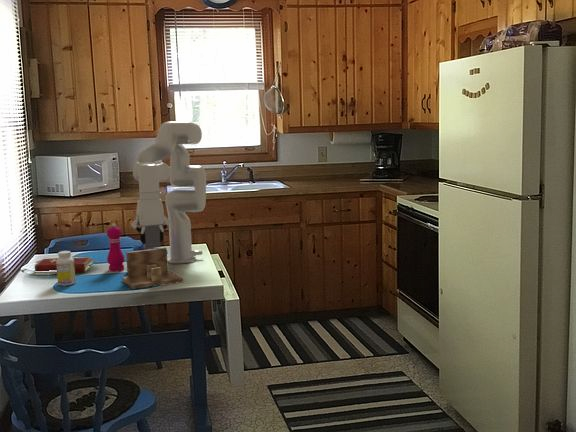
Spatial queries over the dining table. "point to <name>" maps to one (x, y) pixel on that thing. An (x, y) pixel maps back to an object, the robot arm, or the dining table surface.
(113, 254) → the pepper mill
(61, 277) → the supplement bottle
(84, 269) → the hardcover book
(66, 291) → the dining table surface
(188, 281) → the dining table surface
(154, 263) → the wooden desk organizer
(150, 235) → the bracket
